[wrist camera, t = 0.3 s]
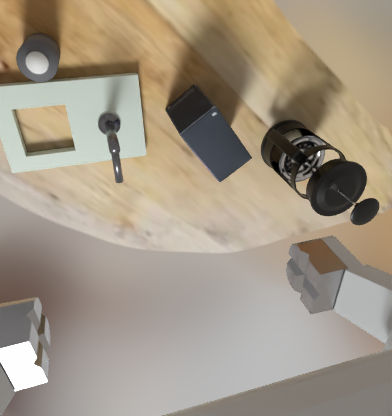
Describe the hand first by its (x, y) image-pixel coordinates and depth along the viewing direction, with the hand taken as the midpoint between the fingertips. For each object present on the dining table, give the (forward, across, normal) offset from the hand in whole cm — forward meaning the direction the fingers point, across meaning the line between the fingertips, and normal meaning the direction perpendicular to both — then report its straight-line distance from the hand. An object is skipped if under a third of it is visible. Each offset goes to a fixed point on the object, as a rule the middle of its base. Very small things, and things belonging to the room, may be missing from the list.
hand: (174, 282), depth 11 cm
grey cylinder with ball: (+46, +8, 0) cm, 46 cm away
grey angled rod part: (+44, +1, +12) cm, 46 cm away
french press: (+46, -30, +18) cm, 58 cm away
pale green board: (+46, +6, +10) cm, 47 cm away
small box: (+46, -14, +12) cm, 49 cm away
